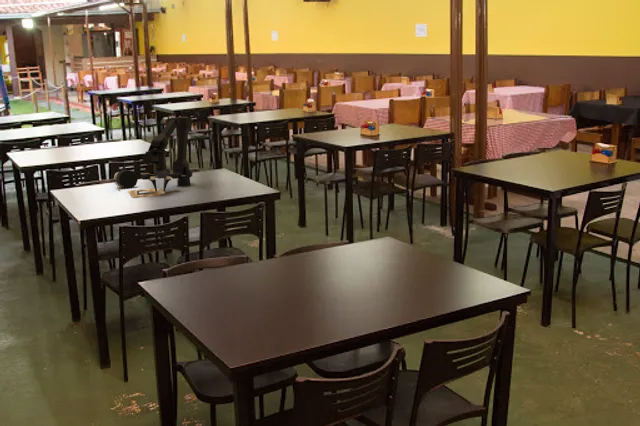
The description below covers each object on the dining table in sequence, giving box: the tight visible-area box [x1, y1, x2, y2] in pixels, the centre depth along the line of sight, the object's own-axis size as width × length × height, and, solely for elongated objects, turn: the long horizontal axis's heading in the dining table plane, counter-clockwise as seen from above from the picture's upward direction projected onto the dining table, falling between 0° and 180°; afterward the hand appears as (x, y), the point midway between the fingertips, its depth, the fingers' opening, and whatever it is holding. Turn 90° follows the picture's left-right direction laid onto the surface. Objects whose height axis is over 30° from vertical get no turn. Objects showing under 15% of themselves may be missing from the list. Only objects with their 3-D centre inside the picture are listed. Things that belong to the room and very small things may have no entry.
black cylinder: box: [113, 169, 139, 190], centre depth 399 cm, size 10×34×10 cm, turn 24°
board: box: [127, 187, 161, 199], centre depth 367 cm, size 14×18×4 cm
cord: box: [157, 187, 166, 195], centre depth 368 cm, size 3×7×3 cm
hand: (160, 191), depth 368 cm, fingers open, 4 cm apart
